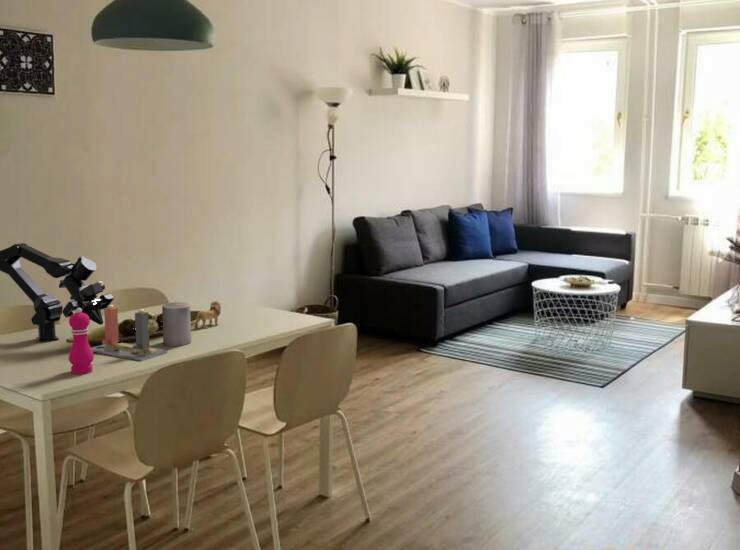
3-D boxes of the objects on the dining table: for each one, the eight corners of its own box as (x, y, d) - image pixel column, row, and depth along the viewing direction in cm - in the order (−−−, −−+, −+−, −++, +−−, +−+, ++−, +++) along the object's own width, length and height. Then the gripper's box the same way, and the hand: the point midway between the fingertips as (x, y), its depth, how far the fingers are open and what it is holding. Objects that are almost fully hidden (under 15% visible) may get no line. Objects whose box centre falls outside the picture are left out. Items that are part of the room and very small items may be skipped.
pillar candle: (163, 340, 290) (162, 299, 287) (191, 338, 292) (190, 298, 289) (162, 347, 280) (161, 304, 278) (191, 345, 282) (190, 303, 280)
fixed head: (131, 352, 268) (129, 311, 265) (142, 348, 272) (141, 308, 270) (137, 353, 266) (136, 312, 264) (149, 349, 271) (147, 309, 269)
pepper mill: (64, 372, 248) (60, 308, 245) (83, 367, 254) (80, 304, 251) (80, 376, 244) (76, 311, 241) (99, 370, 250) (96, 307, 247)
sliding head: (100, 347, 274) (98, 306, 272) (112, 343, 279) (110, 304, 277) (106, 348, 273) (105, 307, 271) (118, 344, 277) (117, 305, 275)
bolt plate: (88, 351, 273) (88, 345, 273) (115, 344, 283) (114, 338, 283) (141, 360, 262) (140, 354, 261) (167, 352, 272) (166, 347, 272)
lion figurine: (213, 322, 320) (212, 299, 318) (224, 323, 318) (224, 300, 316) (190, 329, 306) (190, 306, 305) (202, 331, 304) (201, 307, 303)
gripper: (66, 278, 270) (91, 314, 266) (109, 270, 286) (133, 304, 282) (51, 299, 275) (76, 334, 271) (94, 290, 291) (118, 324, 287)
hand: (101, 323), depth 278 cm, fingers closed
